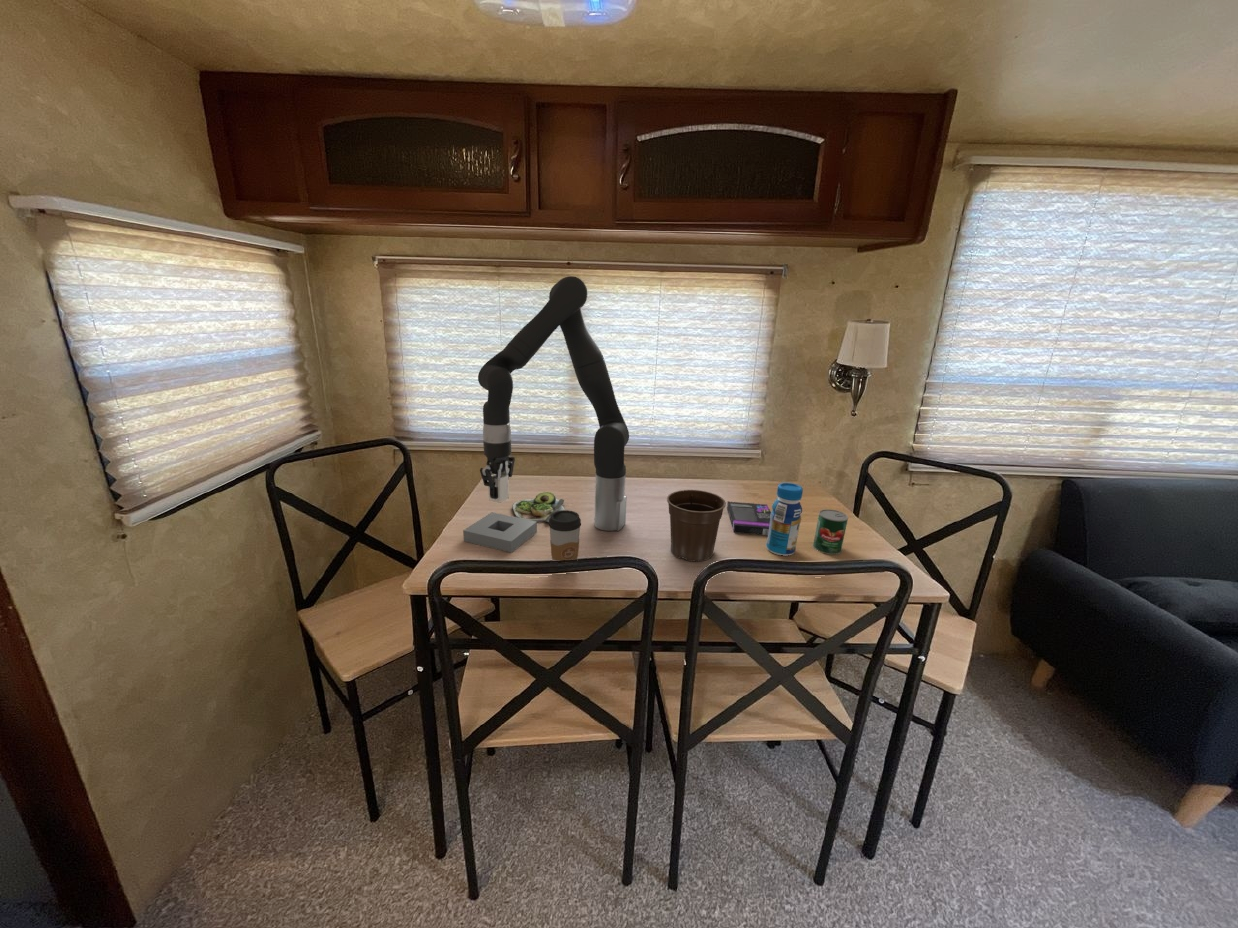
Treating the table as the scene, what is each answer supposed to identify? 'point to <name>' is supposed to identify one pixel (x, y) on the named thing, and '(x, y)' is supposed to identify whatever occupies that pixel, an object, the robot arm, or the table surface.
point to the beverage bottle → (785, 520)
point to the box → (749, 517)
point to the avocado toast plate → (539, 507)
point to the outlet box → (500, 532)
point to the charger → (501, 489)
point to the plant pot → (694, 523)
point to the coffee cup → (564, 535)
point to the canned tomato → (830, 531)
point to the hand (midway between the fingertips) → (499, 495)
